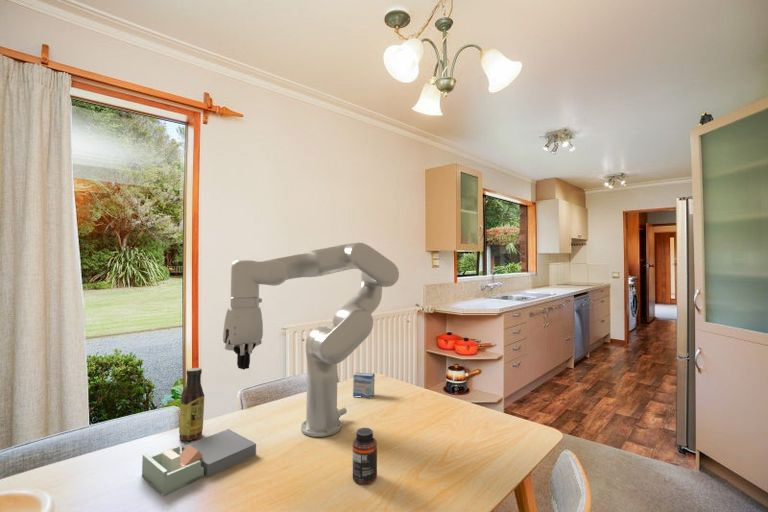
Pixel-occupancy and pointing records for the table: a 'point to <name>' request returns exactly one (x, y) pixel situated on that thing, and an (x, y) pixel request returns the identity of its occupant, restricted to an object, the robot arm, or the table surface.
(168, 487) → the bin
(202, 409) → the sauce bottle
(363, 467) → the supplement bottle
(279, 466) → the table surface
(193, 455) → the terracotta tile
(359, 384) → the medicine box
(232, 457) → the slate board
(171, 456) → the cream tile
